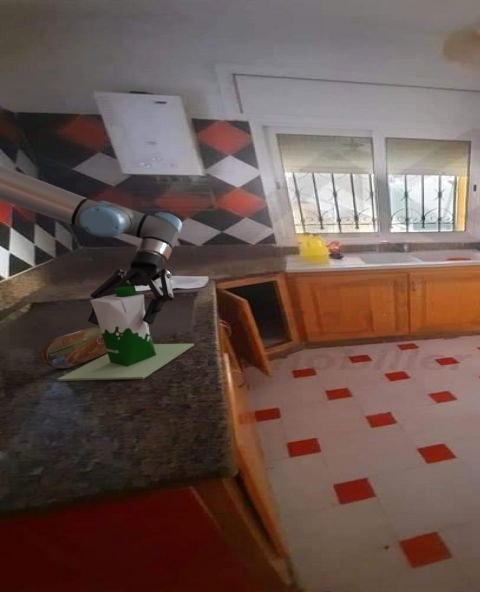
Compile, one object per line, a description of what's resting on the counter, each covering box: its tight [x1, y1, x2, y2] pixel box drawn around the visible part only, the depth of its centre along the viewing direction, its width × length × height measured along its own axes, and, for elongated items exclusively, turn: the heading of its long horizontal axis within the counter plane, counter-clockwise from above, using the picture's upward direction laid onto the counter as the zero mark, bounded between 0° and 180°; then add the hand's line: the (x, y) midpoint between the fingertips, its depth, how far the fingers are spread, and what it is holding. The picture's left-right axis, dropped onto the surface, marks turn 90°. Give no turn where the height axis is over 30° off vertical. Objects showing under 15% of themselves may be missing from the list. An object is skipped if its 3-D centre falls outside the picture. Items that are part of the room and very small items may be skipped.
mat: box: [57, 343, 195, 382], centre depth 88 cm, size 20×20×1 cm
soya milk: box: [89, 286, 156, 366], centre depth 85 cm, size 9×9×20 cm
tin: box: [40, 326, 108, 370], centre depth 87 cm, size 15×3×8 cm, turn 170°
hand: (120, 322), depth 84 cm, fingers open, 13 cm apart
